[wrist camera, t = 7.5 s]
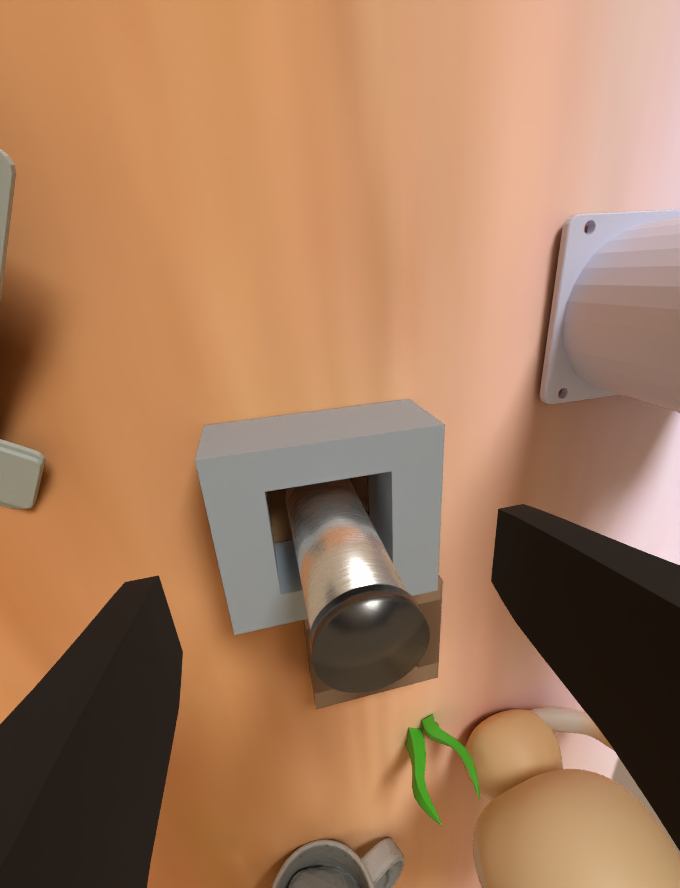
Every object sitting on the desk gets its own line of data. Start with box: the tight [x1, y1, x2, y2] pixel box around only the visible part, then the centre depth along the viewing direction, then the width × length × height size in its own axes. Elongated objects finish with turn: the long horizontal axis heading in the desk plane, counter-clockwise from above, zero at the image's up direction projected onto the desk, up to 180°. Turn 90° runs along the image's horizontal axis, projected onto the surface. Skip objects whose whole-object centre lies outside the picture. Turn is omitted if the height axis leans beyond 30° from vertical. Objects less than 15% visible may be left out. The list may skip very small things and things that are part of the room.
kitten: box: [405, 707, 680, 888], centre depth 23 cm, size 15×10×15 cm
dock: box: [195, 399, 445, 635], centre depth 17 cm, size 9×8×4 cm
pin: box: [286, 478, 430, 693], centre depth 15 cm, size 3×3×9 cm
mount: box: [303, 575, 443, 709], centre depth 22 cm, size 7×7×2 cm
